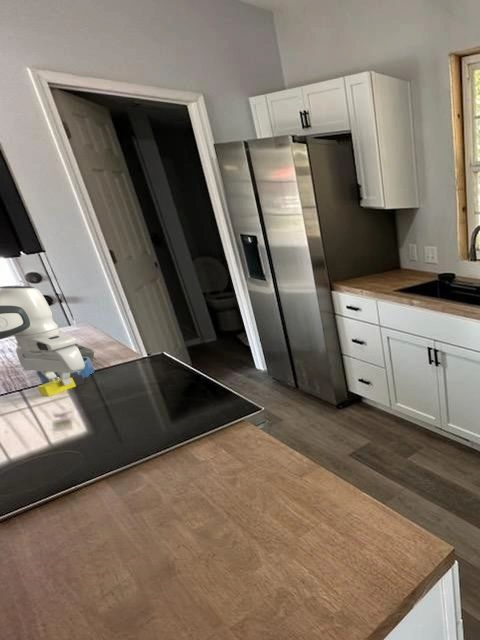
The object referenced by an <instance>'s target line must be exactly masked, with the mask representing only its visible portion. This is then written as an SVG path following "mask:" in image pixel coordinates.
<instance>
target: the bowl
mask: <svg viewBox="0 0 480 640" xmlns="http://www.w3.org/2000/svg"><path fill="white" fill-rule="evenodd" d="M82 358H83V361H84V364H85V367H84V369H83V370H81V371H78V372H75V373H70V375H71V374H81V375H82V377H83V379H84V380H85V379H86V378H89V377H90V376H92V375H93V374H94V373H95V372H96V371H95V370H96V369H95V367H94V365H93V363H92V361H91V360H90V358H89V357H82ZM35 373H36V376H37V377H38V379H39V381H40V383H41V385H43V384H46V383H49V380H48V379H47V378H46V377H45V376H44V375H43V374H42V372H41V371H35ZM54 373H55V375H56V376H57V377H59V378H60V375H58V373H57V372H54ZM92 373H93V374H92ZM90 374H92V375H90ZM89 375H90V376H89ZM85 377H86V378H85Z"/></svg>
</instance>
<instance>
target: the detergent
mask: <svg viewBox="0 0 480 640" xmlns="http://www.w3.org/2000/svg"><path fill="white" fill-rule="evenodd" d="M75 346H76V347H77V348H78V349H79V351H80V353H81V355H82V357H89V358H90V360H91V362H92V361H93V360H94V357H95V351H94V350H93V349H91V348H88V347H86V346H84V345H80V344H78V343H77V344H75Z"/></svg>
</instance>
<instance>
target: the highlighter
mask: <svg viewBox="0 0 480 640" xmlns="http://www.w3.org/2000/svg"><path fill="white" fill-rule="evenodd" d="M59 380H60V379H57V380H54V381H51V382H49V383H46V384H40V385H37V389H38V391H39V393H40V395H41V396H42V397H43V396H44V397H51V396H53V395H57V394H59V393H61V392H65V391H67V390H70V389H73V388H75V387H79V386H81V385H83V384H86V382H85V378H84V379H83V377H82V375H81V374H71V375H70V380H71V384H68V385H61V383H60V382H59Z"/></svg>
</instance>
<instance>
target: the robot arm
mask: <svg viewBox="0 0 480 640" xmlns="http://www.w3.org/2000/svg"><path fill="white" fill-rule="evenodd" d="M46 299H47V298H45V296H44V295H43V293H42V292H41V290H39V288H36V287H35V286H29V285H4V286H0V340H3V339H6V338H9V337H11V336H12V337H14V338H15V340H16V342H17V343H16V346H17V347H16V348H15V353H16V356H17V359H18V360H19V363H20V366H21V367H22V368H23V369H24V370H26V371H35V372H36V371H41V372H42V374H43V375H44V376H45V377H46V378H47V379H48V380H49V382H51V381H54V380H57V379H60V380H59V382H60V383H61V385H68V384H71V380H70V373H75V372H78V371H81V370H83V369H84V367H85V364H84V361H83V358H82V355H81V353H80V351H79V349H78V348H77V347H76V346H75V344H78V342H77V339H76V337H74V336H72V335H69V334H67V333H65V332H64V331H62V330H61V329H60V327H59V325H58V324H57V323H56V322H55V320H54V318H53V311H52V309H51V307H50V305H49V303H48V301H47V300H46ZM54 372H57V373H58V375H60V378H59V377H57V376H56V375H55V373H54Z"/></svg>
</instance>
